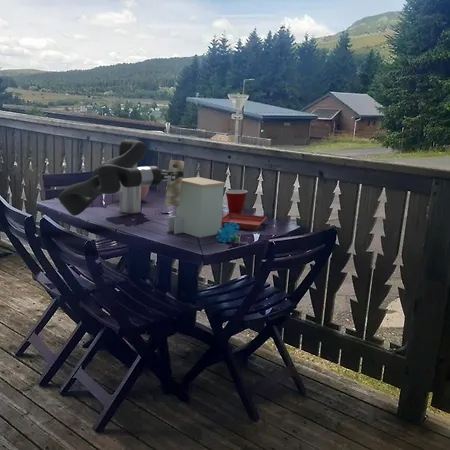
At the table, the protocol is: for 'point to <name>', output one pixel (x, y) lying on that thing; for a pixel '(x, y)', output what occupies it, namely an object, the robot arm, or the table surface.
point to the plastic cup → (235, 200)
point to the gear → (228, 233)
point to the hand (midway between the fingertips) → (180, 173)
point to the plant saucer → (243, 220)
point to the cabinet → (198, 208)
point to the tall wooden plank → (174, 184)
